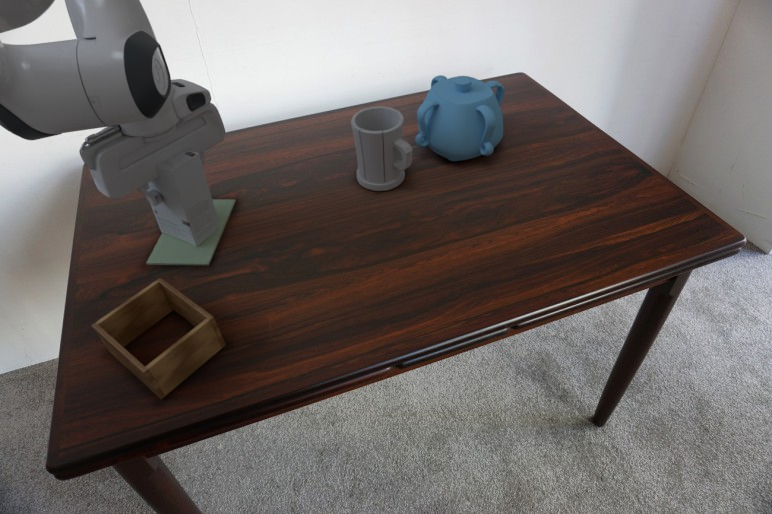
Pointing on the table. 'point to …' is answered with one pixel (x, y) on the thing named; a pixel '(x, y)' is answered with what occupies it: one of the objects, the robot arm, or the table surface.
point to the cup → (380, 148)
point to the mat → (187, 254)
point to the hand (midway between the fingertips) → (178, 190)
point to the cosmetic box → (184, 199)
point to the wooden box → (143, 315)
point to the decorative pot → (461, 117)
